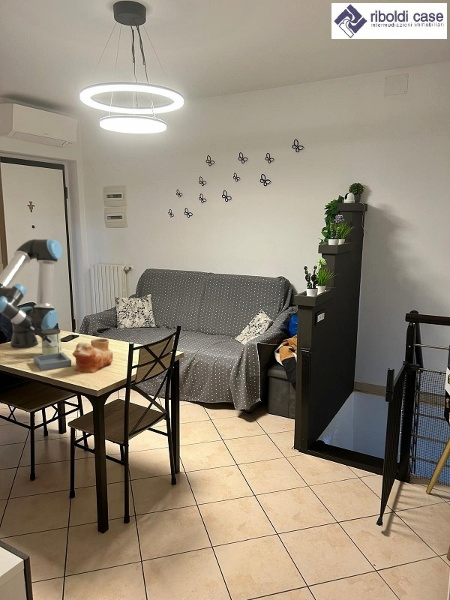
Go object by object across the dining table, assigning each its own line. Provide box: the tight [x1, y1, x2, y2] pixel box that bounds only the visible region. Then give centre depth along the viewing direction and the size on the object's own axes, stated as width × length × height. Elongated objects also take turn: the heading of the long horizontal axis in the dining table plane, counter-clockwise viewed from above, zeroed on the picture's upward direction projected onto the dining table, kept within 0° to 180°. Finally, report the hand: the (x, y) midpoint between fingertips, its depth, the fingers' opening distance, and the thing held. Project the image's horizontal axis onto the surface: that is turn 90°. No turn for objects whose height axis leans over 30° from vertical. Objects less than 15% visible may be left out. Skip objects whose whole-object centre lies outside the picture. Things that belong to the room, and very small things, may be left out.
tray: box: [33, 351, 72, 372], centre depth 234 cm, size 17×15×4 cm
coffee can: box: [40, 328, 62, 355], centre depth 250 cm, size 10×10×14 cm
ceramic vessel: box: [72, 338, 114, 374], centre depth 229 cm, size 14×26×15 cm, turn 160°
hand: (52, 342), depth 249 cm, fingers open, 13 cm apart
